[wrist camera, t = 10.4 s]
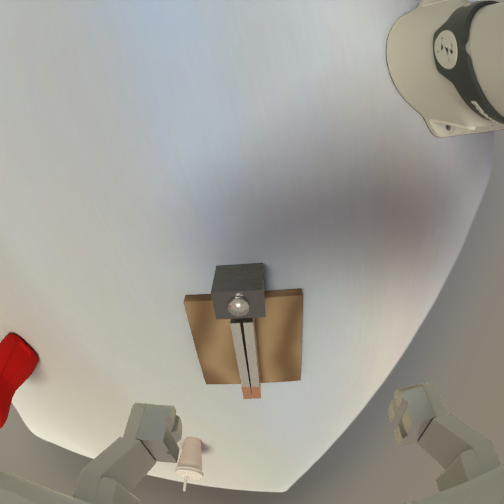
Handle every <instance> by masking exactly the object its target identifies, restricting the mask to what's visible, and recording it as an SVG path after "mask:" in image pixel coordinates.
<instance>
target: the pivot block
mask: <svg viewBox="0 0 504 504" xmlns="http://www.w3.org/2000/svg"><path fill="white" fill-rule="evenodd" d="M211 296H212V301H213V306H214V312H215V317H216V319H239V318H258V317H266V312H265V288H264V274H263V263H256V264H241V265H225V266H216V270H215V275H214V280H213V285H212V290H211Z"/></svg>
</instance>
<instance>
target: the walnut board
mask: <svg viewBox="0 0 504 504" xmlns="http://www.w3.org/2000/svg"><path fill="white" fill-rule="evenodd" d="M184 305H185V309H186V313H187V317H188V321H189V325H190V328H191V332H192V336H193V340H194V343H195V347H196V351H197V354H198V358H199V361H200V365H201V368H202V372H203V375H204V378H205V382H206V384H241V379H240V374H239V369H238V364H237V358H236V353H235V348H234V342H233V337H232V331H231V325H230V320H231V319H216V317H215V312H214V306H213V301H212V296H211V294H203V295H186V296H185V299H184ZM265 312H266V317H258V318H255V328H256V338H257V349H258V359H259V367H260V377H261V383H269V382H285V381H298V380H300V379H301V353H302V314H303V294H302V289H289V290H274V291H265Z"/></svg>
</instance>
